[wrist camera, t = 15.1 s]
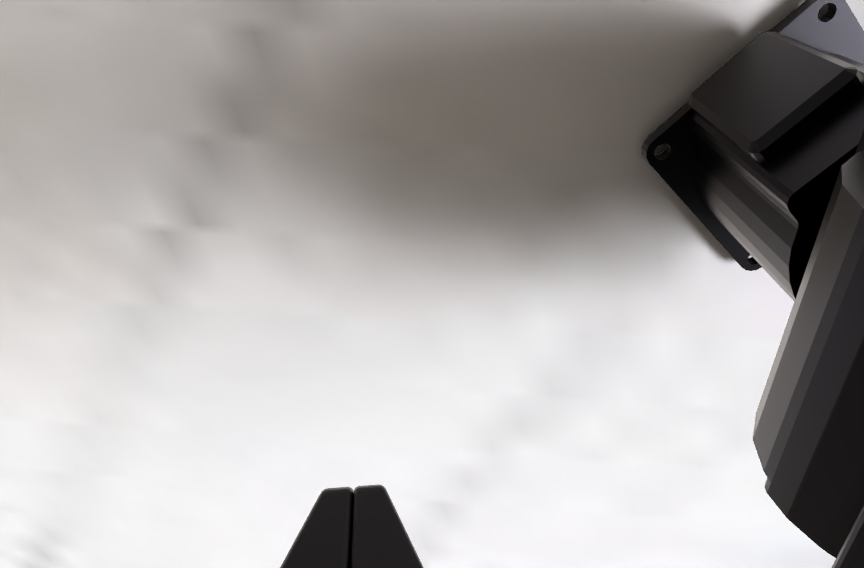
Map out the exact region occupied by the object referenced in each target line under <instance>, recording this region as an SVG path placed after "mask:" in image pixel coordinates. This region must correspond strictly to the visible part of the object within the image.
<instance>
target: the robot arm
mask: <svg viewBox="0 0 864 568" xmlns="http://www.w3.org/2000/svg"><path fill="white" fill-rule="evenodd" d="M826 3H828V11H827V13H826V14H825V15H824V17H822V18H820V19H818V12H819V10H820V8H821V7H822V6H823V5H825V4H826ZM661 144H666V149H665V150H664V151H663V153H661V154H659V155H654V152H655V149H656V148H657V146H659V145H661ZM642 154H643V156H644V158H645V159H646V160H647V162H648V163H649V164H650V165H651V166H652V167H653V168H654V169H655V171H656V172H657V173H658V174H659V175H660V176H661V177H662V178H663V179H664V181H665V182H666V183H667V184H668V185H669V186H670V187H671V188H672V190H673V191H674V192H675V193H676V194H677V195H678V196H679V197H680V198H681V200H682V201H683V202H684V203H685V204H686V205H687V206H688V207H689V209H690V210H691V211H692V212H693V213H694V214H695V215H696V216H697V218H698V219H699V220H700V221H701V222H702V223H703V224H704V225H705V226H706V228H707V229H708V230H709V231H710V232H711V233H712V234H713V235H714V237H715V238H716V239H717V240H718V241H719V242H720V243H721V244H722V245H723V247H724V248H725V249H726V250H727V251H728V252H729V253H730V254H731V256H732V257H733V258H734V259H735V260H736V261H737V262H738V263H739V265H740V266H741V267H742V268H744V269H745V270H749V271H753V270H757V269H759V268H761V267H763V268H764V269H765V271H766V272H767V273H768V274H769V275H770V276H771V277H772V278H773V279H774V280H775V281H776V282H777V283H778V284H779V285H780V287H781V288H782V289H783V290H784V291H785V292H786V293H787V294H788V295H789V296H790V297H791V298H792V299H793V300H794V301H795V302H794V305H793V308H792V311H791V314H790V317H789V319H788V322H787V325H786V328H785V331H784V334H783V337H782V340H781V343H780V346H779V348H778V351H777V354H776V357H775V360H774V363H773V366H772V369H771V372H770V374H769V377H768V380H767V383H766V386H765V389H764V392H763V395H762V398H761V401H760V403H759V406H758V409H757V412H756V419H755V426H754V434H753V441H754V444H755V447H756V450H757V453H758V456H759V459H760V461H761V464H762V467H763V470H764V472H765V474H766V475H767V480H766V483H765V489H766V492H767V494H768V495H769V496H770V497H771V499H772V500H773V501H774V502H775V504H776V505H777V506H778V507H779V509H780V510H781V511H782V512H783V514H784V515H785V516H786V517H787V518H788V519H789V520H790V521H791V522H792V523H793V524H794V525H795V526H797V527H798V528H799V529H800V530H801V531H802V532H803V533H804V534H806V535H807V536H808V537H809V538H810V539H811V540H812V541H814V542H815V543H816V544H817V545H818V546H819V547H821V548H822V549H823V550H825V551H826V552H827V553H829V554H830V555H832V556H834V557H835V558H836V560H835V562H834V564H833V566H832V568H864V31H863V29H862V28H861V26H860V24H859V23H858V21H857V19H856V18H855V16H854V14H853V13H852V11H851V9H850V8H849V6H848V4H847V3H846V1H845V0H806V1H805V2H804V3H802V4H801V5H800V6H799V7H798V8H797V9H795V10H794V11H793V12H792V13H791V14H790V15H788V16H787V17H786V18H785V19H784V20H783V21H782V22H780V23H779V24H778V25H777V26H776V27H775V28H773V29H772V30H771V31H770V32H763V33H761V34H760V35H759V36H757V37H756V38H755V39H754V40H753V41H752V42H751V43H749V44H748V45H747V46H746V47H745V48H744V49H742V50H741V51H740V52H739V53H738V54H737V55H736V56H734V57H733V58H732V59H731V60H730V61H729V62H727V63H726V64H725V65H724V66H723V67H722V68H721V69H719V70H718V71H717V72H716V73H715V74H714V75H712V76H711V77H710V78H709V79H708V80H707V81H706V82H704V83H703V84H702V85H701V86H700V87H699V88H697V89H696V90H695V91H694V92H693V93H692V95H691V98H690V101H689V102H688V103H687V104H685V105H684V106H683V107H682V108H681V109H680V110H678V111H677V112H676V113H675V114H674V115H673V116H671V117H670V118H669V119H668V120H667V121H666V122H665V123H663V124H662V125H661V126H660V127H659V128H658V129H656V130H655V131H654V132H653V133H652V134H651V135H649V136H648V138H647V139H646V140H645V141H644V143H643V146H642ZM749 255H751V256H752V257H751V258H748V256H749ZM280 568H423V566H422V564H421V562H420V559H419V557H418V555H417V553H416V551H415V549H414V547H413V545H412V543H411V541H410V539H409V536H408V534H407V532H406V530H405V528H404V526H403V524H402V522H401V520H400V518H399V516H398V513H397V511H396V509H395V507H394V505H393V503H392V501H391V499H390V497H389V495H388V493H387V491H386V489H385V488H384V486H382V485H368V486H358V487H356V488H355V490H354V491H353V489H352V488H350V487H340V488H327V489H325V490H323V491H322V492H321V494H320V495H319V497H318V499H317V501H316V503H315V505H314V506H313V508H312V510H311V512H310V514H309V516H308V517H307V519H306V521H305V523H304V525H303V527H302V529H301V530H300V532H299V534H298V536H297V538H296V540H295V541H294V543H293V545H292V547H291V549H290V551H289V552H288V554H287V556H286V558H285V560H284V562H283V564H282V565H281V567H280Z"/></svg>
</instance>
